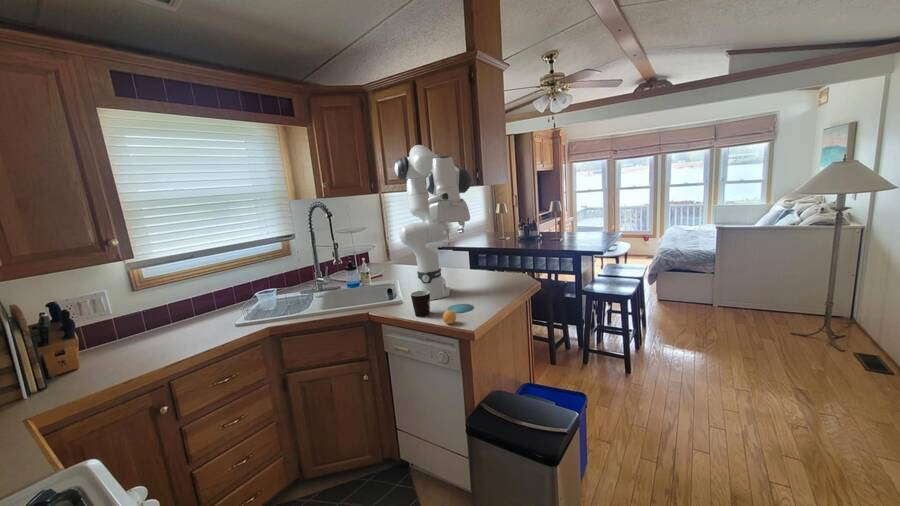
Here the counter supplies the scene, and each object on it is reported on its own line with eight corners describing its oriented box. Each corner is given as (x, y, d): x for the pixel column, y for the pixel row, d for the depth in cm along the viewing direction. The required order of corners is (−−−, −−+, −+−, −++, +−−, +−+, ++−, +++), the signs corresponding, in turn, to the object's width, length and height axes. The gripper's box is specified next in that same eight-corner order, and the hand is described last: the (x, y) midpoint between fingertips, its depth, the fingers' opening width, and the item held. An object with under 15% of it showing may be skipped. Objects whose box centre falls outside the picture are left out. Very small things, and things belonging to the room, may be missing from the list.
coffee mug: (423, 319, 158) (421, 296, 156) (408, 316, 163) (406, 294, 161) (440, 310, 167) (438, 289, 165) (425, 308, 172) (423, 288, 170)
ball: (445, 321, 153) (444, 308, 152) (458, 321, 151) (457, 308, 150) (441, 326, 148) (440, 313, 147) (455, 326, 146) (453, 313, 145)
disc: (451, 304, 175) (451, 303, 175) (475, 304, 172) (475, 303, 172) (444, 312, 163) (444, 312, 163) (470, 312, 160) (470, 312, 160)
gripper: (458, 200, 149) (463, 233, 149) (424, 198, 133) (430, 236, 133) (470, 196, 145) (476, 231, 145) (437, 194, 129) (443, 233, 129)
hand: (453, 233), depth 139 cm, fingers open, 8 cm apart
